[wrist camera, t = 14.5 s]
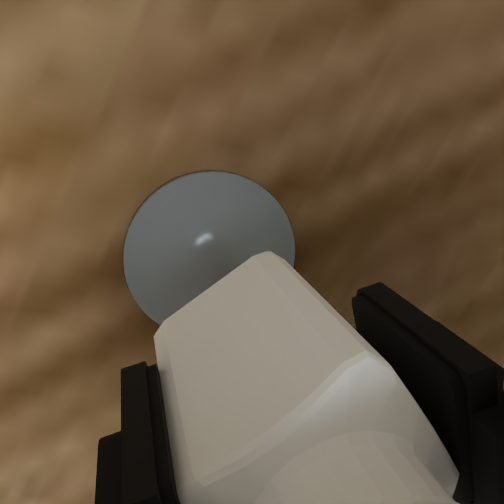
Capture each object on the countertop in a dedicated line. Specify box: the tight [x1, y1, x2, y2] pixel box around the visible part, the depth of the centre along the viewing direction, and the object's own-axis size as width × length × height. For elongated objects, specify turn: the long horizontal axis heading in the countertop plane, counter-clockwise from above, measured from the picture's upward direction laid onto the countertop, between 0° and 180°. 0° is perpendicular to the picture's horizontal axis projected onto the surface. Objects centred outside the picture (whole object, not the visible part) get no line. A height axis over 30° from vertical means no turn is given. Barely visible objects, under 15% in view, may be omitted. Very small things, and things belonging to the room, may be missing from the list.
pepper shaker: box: [154, 251, 460, 504], centre depth 9 cm, size 4×4×10 cm
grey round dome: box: [123, 170, 295, 326], centre depth 20 cm, size 7×7×1 cm
